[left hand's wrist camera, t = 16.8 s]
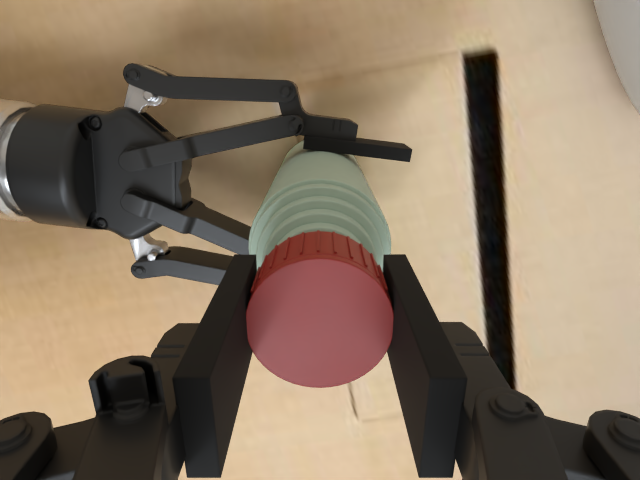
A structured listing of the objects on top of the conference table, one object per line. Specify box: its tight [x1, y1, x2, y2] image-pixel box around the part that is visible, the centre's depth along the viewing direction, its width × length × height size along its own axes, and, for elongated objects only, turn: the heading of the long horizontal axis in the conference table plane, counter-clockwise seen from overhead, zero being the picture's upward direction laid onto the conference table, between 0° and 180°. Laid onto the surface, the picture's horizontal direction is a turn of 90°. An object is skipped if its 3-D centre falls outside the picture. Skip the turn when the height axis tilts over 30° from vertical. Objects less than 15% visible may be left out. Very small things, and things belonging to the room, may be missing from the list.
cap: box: [246, 230, 394, 388], centre depth 14 cm, size 5×5×2 cm
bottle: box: [249, 140, 391, 272], centre depth 23 cm, size 6×6×21 cm
